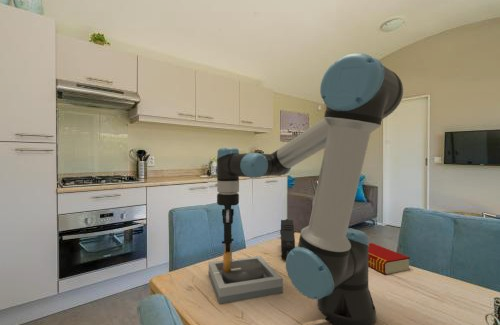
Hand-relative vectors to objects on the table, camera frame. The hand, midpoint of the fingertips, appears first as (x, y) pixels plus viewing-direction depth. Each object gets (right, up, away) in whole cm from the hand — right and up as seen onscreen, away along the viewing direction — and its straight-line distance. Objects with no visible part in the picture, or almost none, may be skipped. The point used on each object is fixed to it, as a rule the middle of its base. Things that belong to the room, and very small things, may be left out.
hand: (227, 261), depth 87 cm
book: (+59, -7, +15) cm, 61 cm away
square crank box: (+5, -7, -2) cm, 9 cm away
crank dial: (+5, -4, -2) cm, 7 cm away
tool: (+24, -8, +27) cm, 37 cm away
